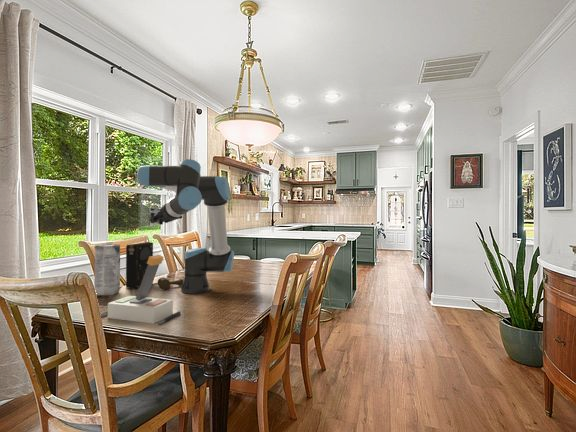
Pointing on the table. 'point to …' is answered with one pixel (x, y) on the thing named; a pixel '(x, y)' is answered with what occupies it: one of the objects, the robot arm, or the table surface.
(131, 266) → the voltmeter
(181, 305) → the table surface
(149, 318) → the breaker housing
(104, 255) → the juice carton
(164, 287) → the kendama
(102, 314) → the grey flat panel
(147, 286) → the lever
